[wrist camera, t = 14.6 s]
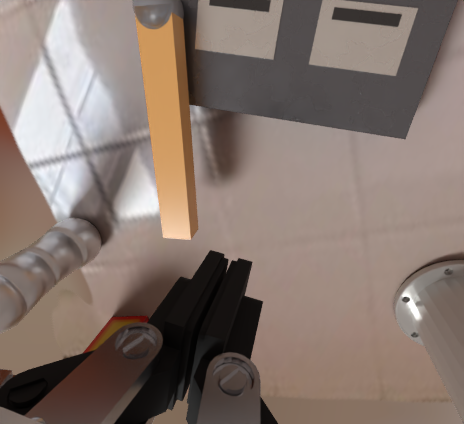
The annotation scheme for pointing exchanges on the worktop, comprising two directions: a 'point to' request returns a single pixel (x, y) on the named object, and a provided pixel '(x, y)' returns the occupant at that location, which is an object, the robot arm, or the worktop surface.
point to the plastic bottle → (44, 267)
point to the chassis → (315, 59)
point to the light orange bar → (168, 112)
